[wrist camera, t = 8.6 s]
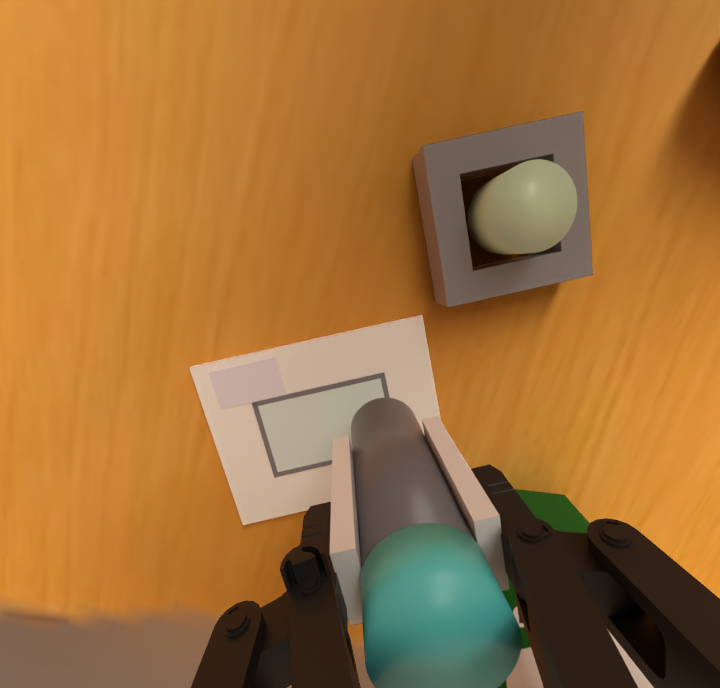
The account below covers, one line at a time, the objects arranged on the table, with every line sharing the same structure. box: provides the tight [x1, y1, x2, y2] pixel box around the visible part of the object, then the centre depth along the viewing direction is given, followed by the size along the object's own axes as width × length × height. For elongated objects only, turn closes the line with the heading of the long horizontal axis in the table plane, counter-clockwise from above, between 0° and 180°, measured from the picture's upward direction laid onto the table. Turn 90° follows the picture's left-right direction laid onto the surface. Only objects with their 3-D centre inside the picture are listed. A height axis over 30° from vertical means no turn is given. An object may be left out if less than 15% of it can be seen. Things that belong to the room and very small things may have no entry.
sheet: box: [189, 315, 441, 525], centre depth 22 cm, size 11×14×1 cm
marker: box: [351, 398, 522, 688], centre depth 14 cm, size 4×4×12 cm
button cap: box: [467, 159, 577, 255], centre depth 18 cm, size 4×4×3 cm
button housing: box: [412, 111, 593, 307], centre depth 19 cm, size 8×8×2 cm
